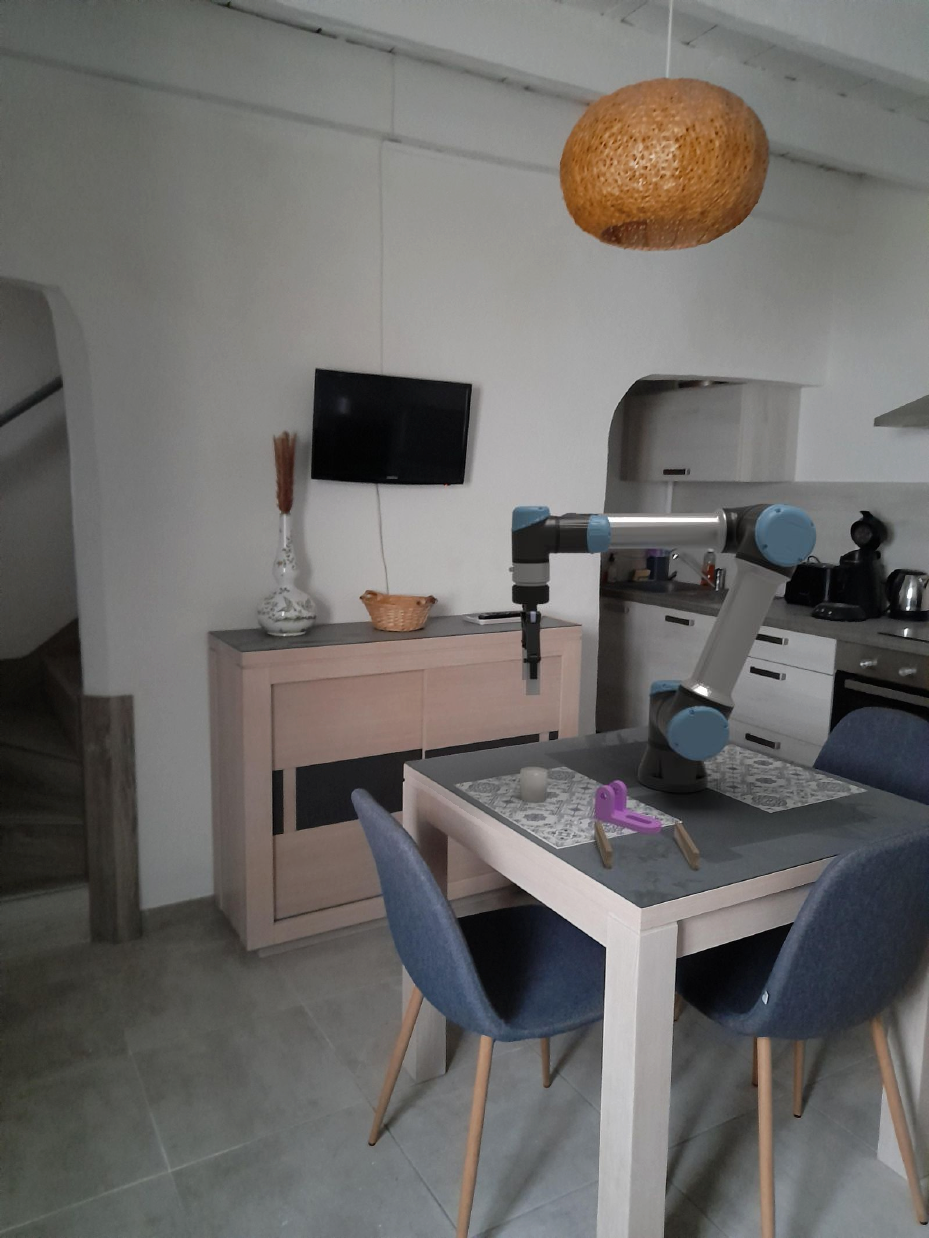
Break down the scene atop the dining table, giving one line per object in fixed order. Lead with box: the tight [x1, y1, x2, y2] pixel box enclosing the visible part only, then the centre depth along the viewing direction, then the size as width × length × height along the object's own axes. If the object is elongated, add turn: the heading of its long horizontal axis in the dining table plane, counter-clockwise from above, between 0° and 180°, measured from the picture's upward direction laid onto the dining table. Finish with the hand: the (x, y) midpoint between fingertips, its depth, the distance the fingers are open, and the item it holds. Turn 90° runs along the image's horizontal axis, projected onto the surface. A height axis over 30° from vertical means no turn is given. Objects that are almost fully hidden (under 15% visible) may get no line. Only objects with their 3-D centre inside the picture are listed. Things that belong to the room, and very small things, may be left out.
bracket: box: [594, 780, 663, 835], centre depth 172 cm, size 13×6×7 cm, turn 46°
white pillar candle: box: [519, 766, 548, 804], centre depth 185 cm, size 6×6×6 cm
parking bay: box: [593, 820, 701, 870], centre depth 159 cm, size 16×14×3 cm
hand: (530, 687), depth 180 cm, fingers open, 13 cm apart
